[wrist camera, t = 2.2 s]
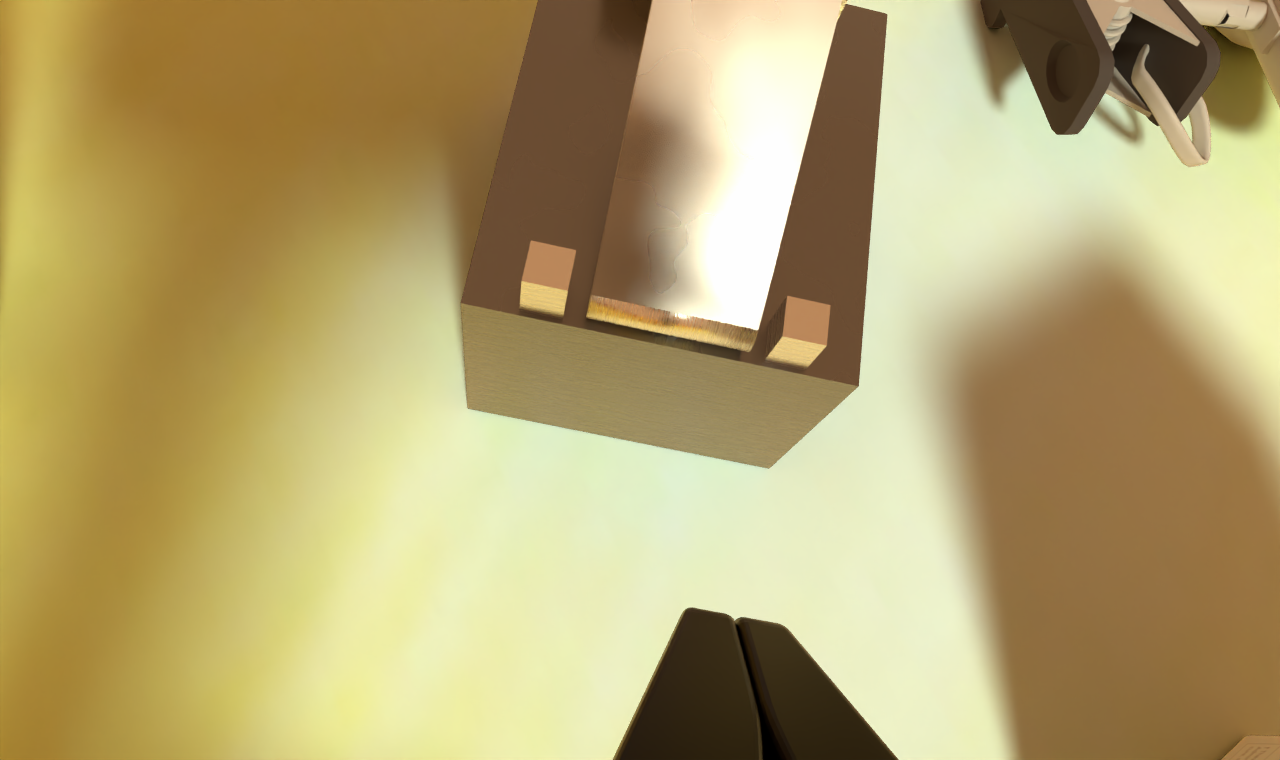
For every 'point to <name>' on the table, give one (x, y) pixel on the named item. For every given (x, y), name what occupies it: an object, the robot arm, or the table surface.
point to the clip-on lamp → (1136, 57)
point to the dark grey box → (571, 238)
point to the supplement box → (1256, 748)
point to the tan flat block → (710, 165)
